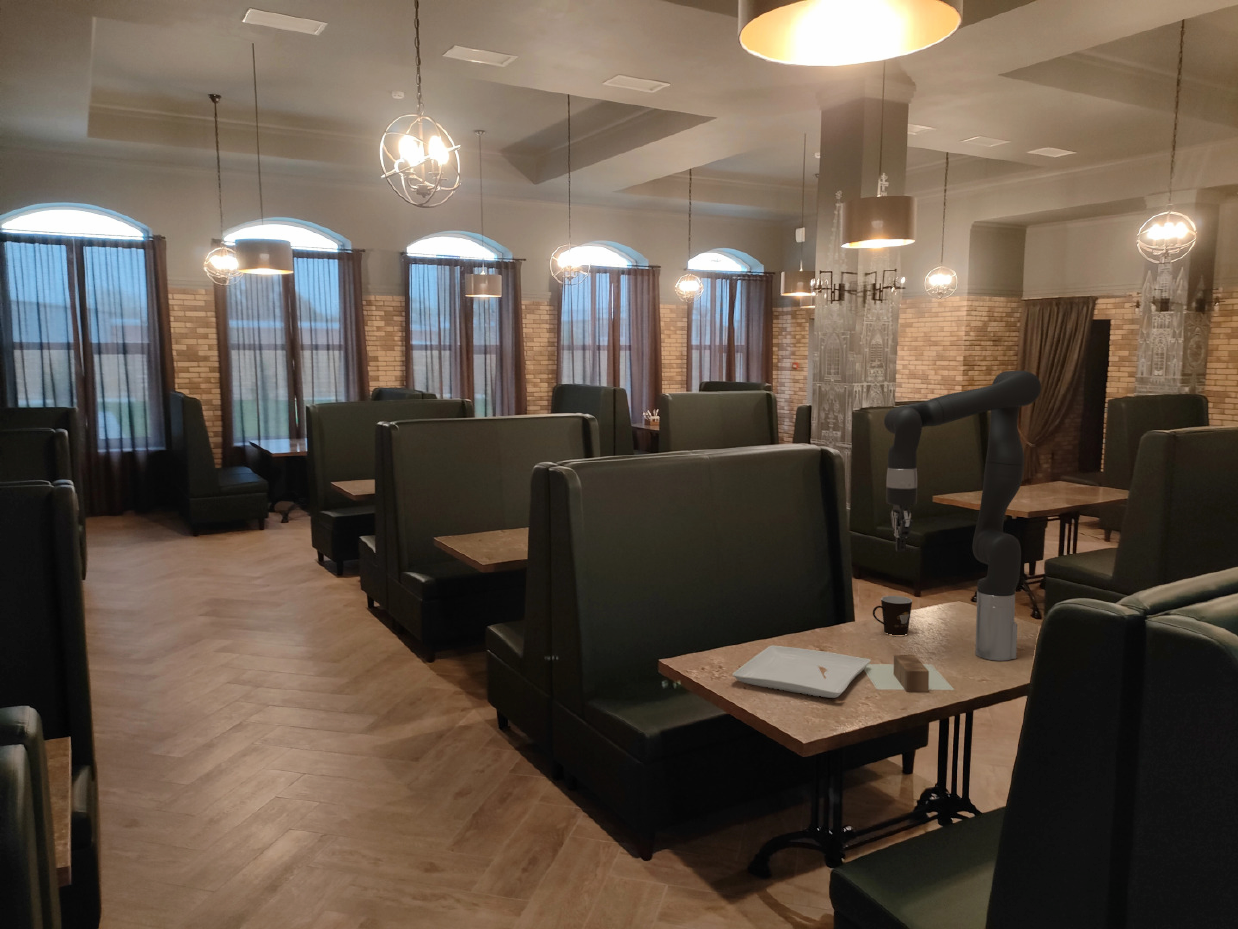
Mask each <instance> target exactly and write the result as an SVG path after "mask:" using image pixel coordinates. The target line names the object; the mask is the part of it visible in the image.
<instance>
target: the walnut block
mask: <svg viewBox="0 0 1238 929" xmlns="http://www.w3.org/2000/svg"><path fill="white" fill-rule="evenodd" d="M893 664H894V673H893V674H894V676H895V677H896V678H897V680H898V681H899V682H900V684H901V685H902V686H903V688H904V689H905V690H904V691H905V692H907V693H928V692H929V690H928V688H929V671H928V670H927V669H926V667H925V666H924V665H923V663H922V662H921V660H919V658H918V657H917V656H916V655H915V654H893Z"/></svg>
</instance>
